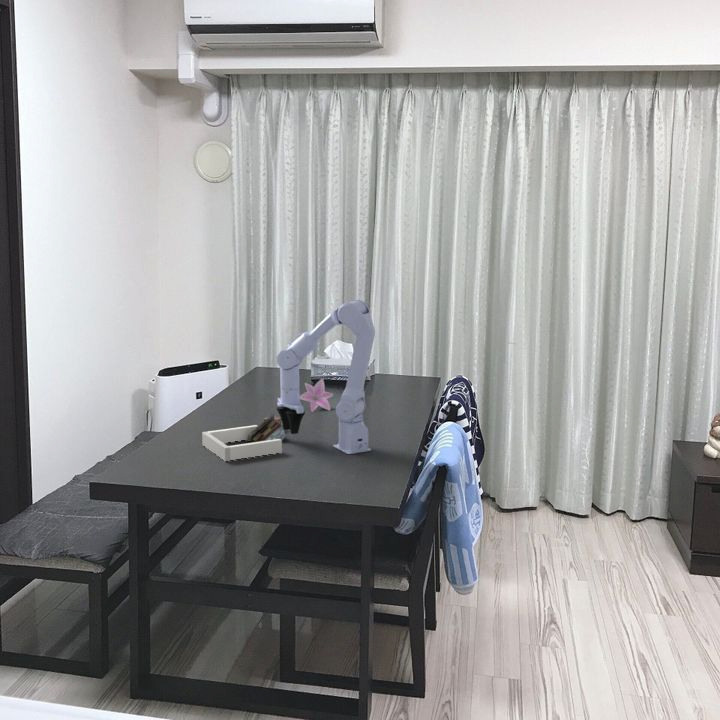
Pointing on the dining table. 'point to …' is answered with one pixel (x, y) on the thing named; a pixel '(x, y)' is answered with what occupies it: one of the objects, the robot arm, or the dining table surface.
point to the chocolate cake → (267, 431)
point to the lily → (317, 396)
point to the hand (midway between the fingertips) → (290, 431)
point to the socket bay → (227, 453)
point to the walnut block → (275, 419)
